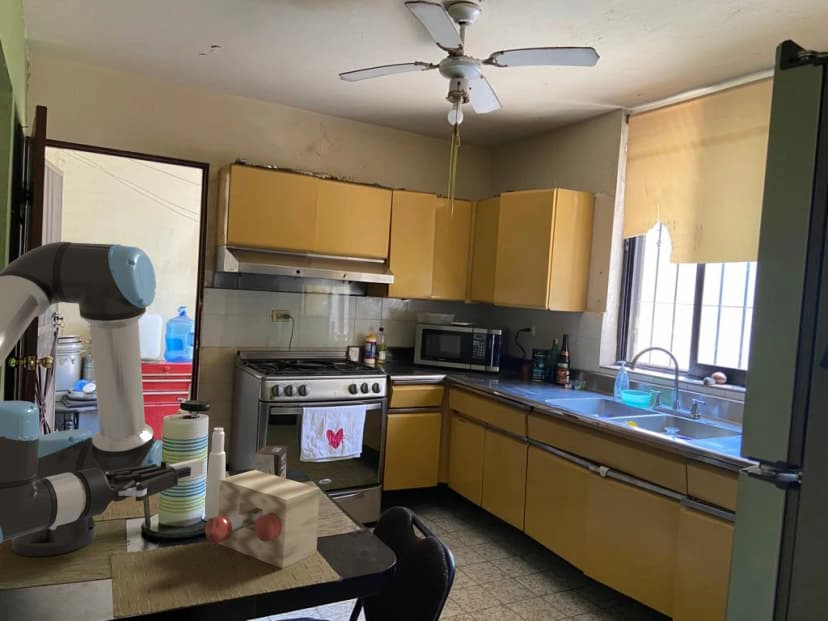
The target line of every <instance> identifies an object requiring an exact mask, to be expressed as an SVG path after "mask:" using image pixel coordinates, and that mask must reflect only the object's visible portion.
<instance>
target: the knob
mask: <svg viewBox="0 0 828 621" xmlns="http://www.w3.org/2000/svg"><path fill="white" fill-rule="evenodd" d="M260 516H263V509H260V508H254V509H251V510H249V511H246V512H243V513H240V514H237V515H234V516H231V517H227V516H226V515H219V516H216V517H213V518H210V519H208V520H207V522H205V525H204V532H205V536H206V538H207V540H208V541H209V543H211V544H212V545H217V544H218V543H220V542H223V541H225V540H228V539H229V538H230V537H231V534H232V532H234V531H237V530H240V529H242V528H245V527H248V526H250V525H253V524H255V522H256V520H257V518H258V517H260Z"/></svg>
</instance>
